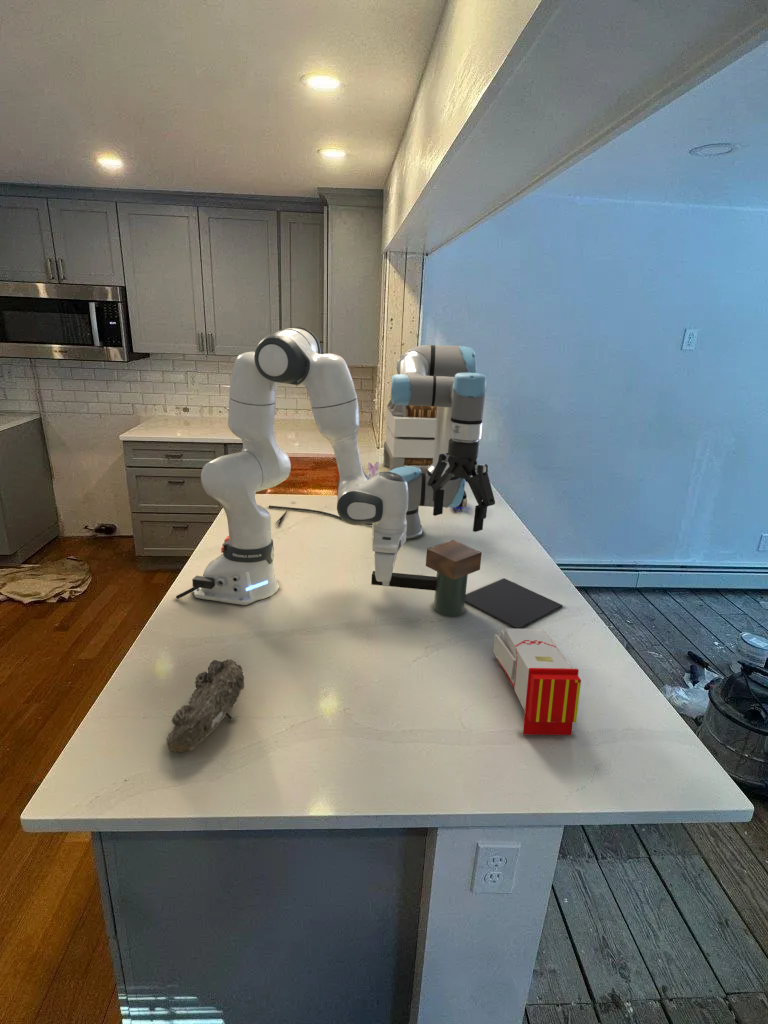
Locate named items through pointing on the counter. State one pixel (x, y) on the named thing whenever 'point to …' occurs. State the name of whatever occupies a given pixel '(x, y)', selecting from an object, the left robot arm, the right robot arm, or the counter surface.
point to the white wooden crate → (409, 435)
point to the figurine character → (462, 502)
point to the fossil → (206, 705)
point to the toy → (539, 680)
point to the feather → (281, 519)
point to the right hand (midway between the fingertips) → (457, 522)
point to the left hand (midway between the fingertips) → (386, 582)
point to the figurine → (372, 470)
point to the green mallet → (445, 588)
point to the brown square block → (453, 559)
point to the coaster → (511, 603)
